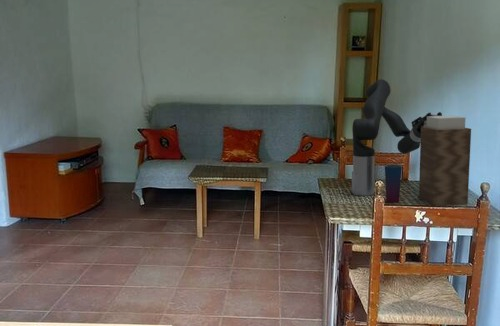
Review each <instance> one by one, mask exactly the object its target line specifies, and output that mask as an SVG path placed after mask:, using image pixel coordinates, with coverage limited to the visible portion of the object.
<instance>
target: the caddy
mask: <svg viewBox="0 0 500 326" xmlns="http://www.w3.org/2000/svg"><path fill="white" fill-rule="evenodd" d="M427 128H432V129H436V130H447V129H465V128H466V117H465V116H459V115H458V116H457V115H442V116H439V115H437V114H432V113H431V116H427Z"/></svg>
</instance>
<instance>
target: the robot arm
mask: <svg viewBox="0 0 500 326" xmlns="http://www.w3.org/2000/svg"><path fill="white" fill-rule="evenodd" d="M391 90H392V89H391V86H390V84H389V83H388V81H387V80H385V79H382V78H381V79H377V80H376V81H375V82H373V83H372V84H371V85H369V86H368V87H367V88H366V89H365V94H366V96H367V99H366V100H365V102H364V104H363V107H362V114H363V116H364V118H355V119H354V120H353V121H352V127H351V128H352V130H351V131H352V170H351V193H352V194H353V195H354V196H361V197H362V196H363V197H364V196H365V197H366V196H372V195H375V158H376V157H375V155H376V154H375V153H376V151H375V149H374V148H373V147H370V146H369V145H366V144H365V143H363V142H362V141H374V140H376V139H377V138H378V134H379V129H380V123H381V119H382V118H383V119H384V121H385V122H386V123H387V125H388V126H389V129H390V130H391V132H392V134H393V136H394V137H396V138H399V137H402V138H401V139H400V140H399V141H398V142H397V144H396V146H397V147H396V149H397V150H398V152H399V153H401V155H402V154H403V155H407V154H408V153H412V152H414V151H415V150H418V149H419V148H420V142H421V127H427V116H431V114H432V112H428V113H426V114H425V115H424V116H423V117H422V116H419V117H417V118H415V119H414V120H412V121H411V127H412V128H411V130H410V128H409V127H407V125H406V123H405V122H404V120H403V119H402V117H401V116H400V115H399V113H398V114H397V112H396V111H395V112H394V111H392V110H390V109H388V108H387V107H385V106H386V103H387V100H388V98H389V96H390V95H391ZM436 115H439V116H443V114H442V112H441V111H438V112H437V113H436Z"/></svg>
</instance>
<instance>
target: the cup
mask: <svg viewBox="0 0 500 326" xmlns="http://www.w3.org/2000/svg"><path fill="white" fill-rule="evenodd" d="M402 171H403V165H401V164H395V163H394V164H393V163H392V164H391V163H390V164H389V163H388V164H385V165H384V176H385V177H384V183H385V201H386V203H391V204H394V203H399V202H400V194H401V193H400V191H401V184H402V183H401V181H402Z"/></svg>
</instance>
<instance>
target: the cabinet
mask: <svg viewBox="0 0 500 326" xmlns="http://www.w3.org/2000/svg"><path fill="white" fill-rule="evenodd" d="M471 139H472V128H469V127H465V129H447V130H436V129H432V128H427V127H421V142H420V147H419V148H420V149H419V175H418V176H419V179H418V180H419V181H418V182H419V183H418V184H419V185H418V198H420V199H421V200H423V201H425V203H428V204H429V205H431V206H433V205H435V206H452V205H453V206H457V205H468V202H469V182H470V181H469V180H470V179H469V178H470V166H471V165H470V161H471V143H472V142H471Z"/></svg>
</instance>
